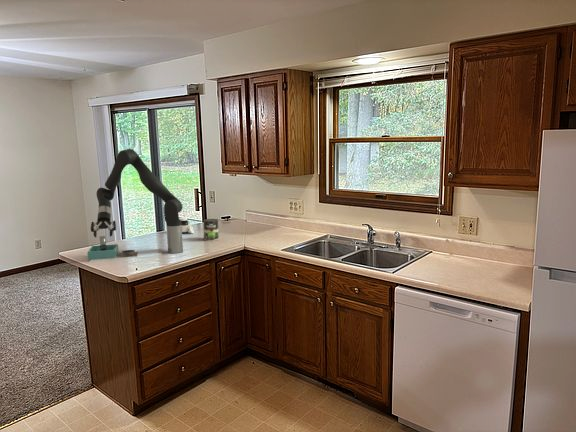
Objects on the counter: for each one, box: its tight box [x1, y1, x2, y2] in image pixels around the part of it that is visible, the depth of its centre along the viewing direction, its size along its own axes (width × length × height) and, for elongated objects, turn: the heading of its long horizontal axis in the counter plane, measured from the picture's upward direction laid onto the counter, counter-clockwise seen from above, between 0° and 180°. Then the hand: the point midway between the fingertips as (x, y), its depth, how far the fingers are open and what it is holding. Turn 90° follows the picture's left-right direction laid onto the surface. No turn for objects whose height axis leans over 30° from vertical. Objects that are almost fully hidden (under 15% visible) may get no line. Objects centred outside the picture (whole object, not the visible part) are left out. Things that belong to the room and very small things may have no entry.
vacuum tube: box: [99, 235, 107, 251], centre depth 259 cm, size 5×5×12 cm
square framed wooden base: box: [116, 249, 139, 259], centre depth 261 cm, size 11×11×3 cm
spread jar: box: [179, 216, 195, 235], centre depth 326 cm, size 12×11×12 cm
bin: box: [87, 243, 120, 262], centre depth 260 cm, size 15×15×6 cm
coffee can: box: [203, 218, 220, 242], centre depth 304 cm, size 10×10×14 cm
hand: (103, 236), depth 260 cm, fingers open, 8 cm apart
